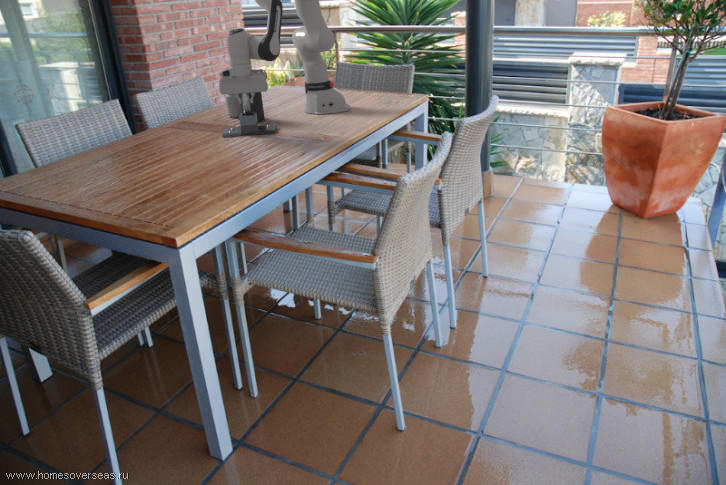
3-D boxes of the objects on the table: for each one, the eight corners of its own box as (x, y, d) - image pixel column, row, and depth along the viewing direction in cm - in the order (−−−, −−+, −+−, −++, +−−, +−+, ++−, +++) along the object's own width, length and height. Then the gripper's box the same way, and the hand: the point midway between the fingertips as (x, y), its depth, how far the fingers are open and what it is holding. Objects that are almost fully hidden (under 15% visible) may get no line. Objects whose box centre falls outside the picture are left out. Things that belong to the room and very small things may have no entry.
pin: (251, 115, 249) (247, 87, 244) (250, 117, 246) (247, 88, 241) (244, 115, 249) (240, 87, 244) (244, 117, 246) (239, 89, 241)
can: (245, 114, 284) (242, 89, 279) (241, 118, 277) (237, 93, 272) (231, 114, 285) (227, 90, 280) (226, 118, 278) (222, 93, 273)
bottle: (259, 123, 265) (250, 56, 252) (240, 123, 267) (229, 56, 254) (267, 118, 274) (258, 52, 261) (248, 118, 276) (238, 53, 263)
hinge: (277, 127, 255) (274, 109, 252) (275, 133, 246) (272, 115, 243) (226, 131, 255) (223, 113, 251) (222, 137, 246) (219, 118, 242)
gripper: (266, 67, 242) (270, 100, 248) (218, 70, 242) (223, 103, 248) (265, 69, 237) (269, 103, 243) (216, 73, 236) (221, 106, 242)
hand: (246, 103), depth 245 cm, fingers closed on pin, 3 cm apart
